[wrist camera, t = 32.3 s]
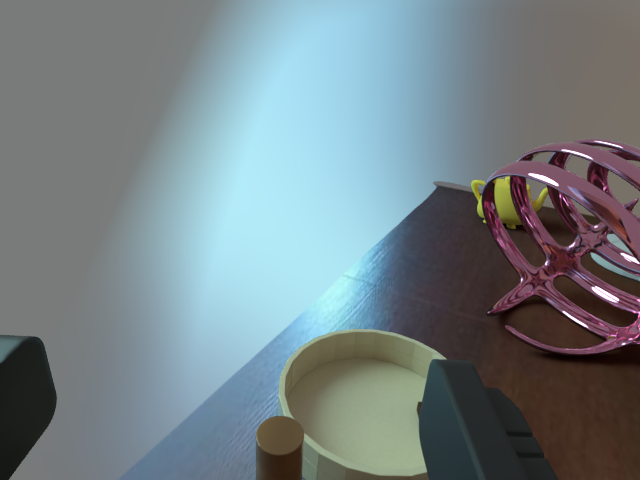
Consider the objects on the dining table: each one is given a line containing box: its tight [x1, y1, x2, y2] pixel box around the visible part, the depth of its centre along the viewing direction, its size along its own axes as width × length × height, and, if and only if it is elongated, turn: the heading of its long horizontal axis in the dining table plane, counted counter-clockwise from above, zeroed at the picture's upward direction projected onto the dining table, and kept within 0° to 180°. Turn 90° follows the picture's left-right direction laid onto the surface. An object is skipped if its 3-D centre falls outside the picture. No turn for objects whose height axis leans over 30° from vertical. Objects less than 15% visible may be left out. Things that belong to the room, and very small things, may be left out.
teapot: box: [471, 177, 548, 229], centre depth 99 cm, size 18×11×11 cm, turn 62°
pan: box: [278, 329, 446, 480], centre depth 43 cm, size 19×19×4 cm
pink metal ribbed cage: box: [481, 138, 640, 356], centre depth 56 cm, size 28×28×27 cm
